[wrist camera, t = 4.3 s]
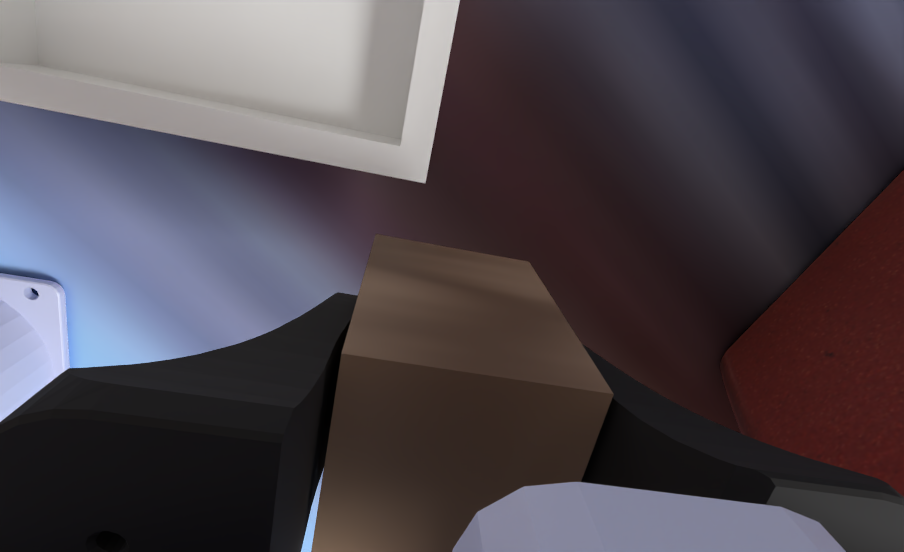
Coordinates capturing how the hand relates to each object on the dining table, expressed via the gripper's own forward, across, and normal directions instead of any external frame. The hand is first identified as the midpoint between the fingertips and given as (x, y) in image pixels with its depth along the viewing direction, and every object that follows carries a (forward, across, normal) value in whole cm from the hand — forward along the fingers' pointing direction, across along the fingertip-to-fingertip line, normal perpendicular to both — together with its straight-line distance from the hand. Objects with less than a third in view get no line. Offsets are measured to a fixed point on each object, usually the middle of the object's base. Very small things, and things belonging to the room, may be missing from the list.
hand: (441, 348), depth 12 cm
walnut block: (+2, 0, 0) cm, 2 cm away
